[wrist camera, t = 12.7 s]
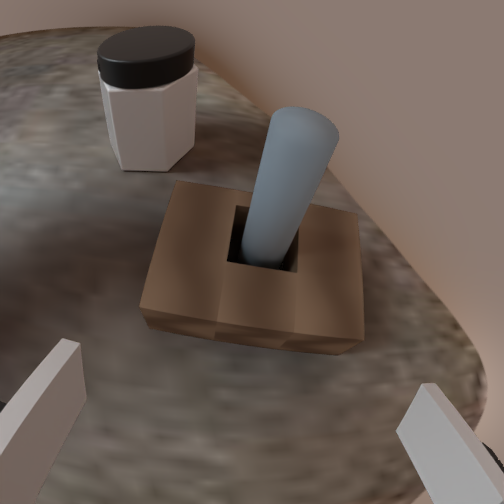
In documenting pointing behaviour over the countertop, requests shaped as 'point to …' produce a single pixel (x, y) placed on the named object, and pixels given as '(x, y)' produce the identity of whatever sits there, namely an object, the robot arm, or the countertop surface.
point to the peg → (286, 183)
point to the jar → (149, 95)
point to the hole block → (254, 277)
